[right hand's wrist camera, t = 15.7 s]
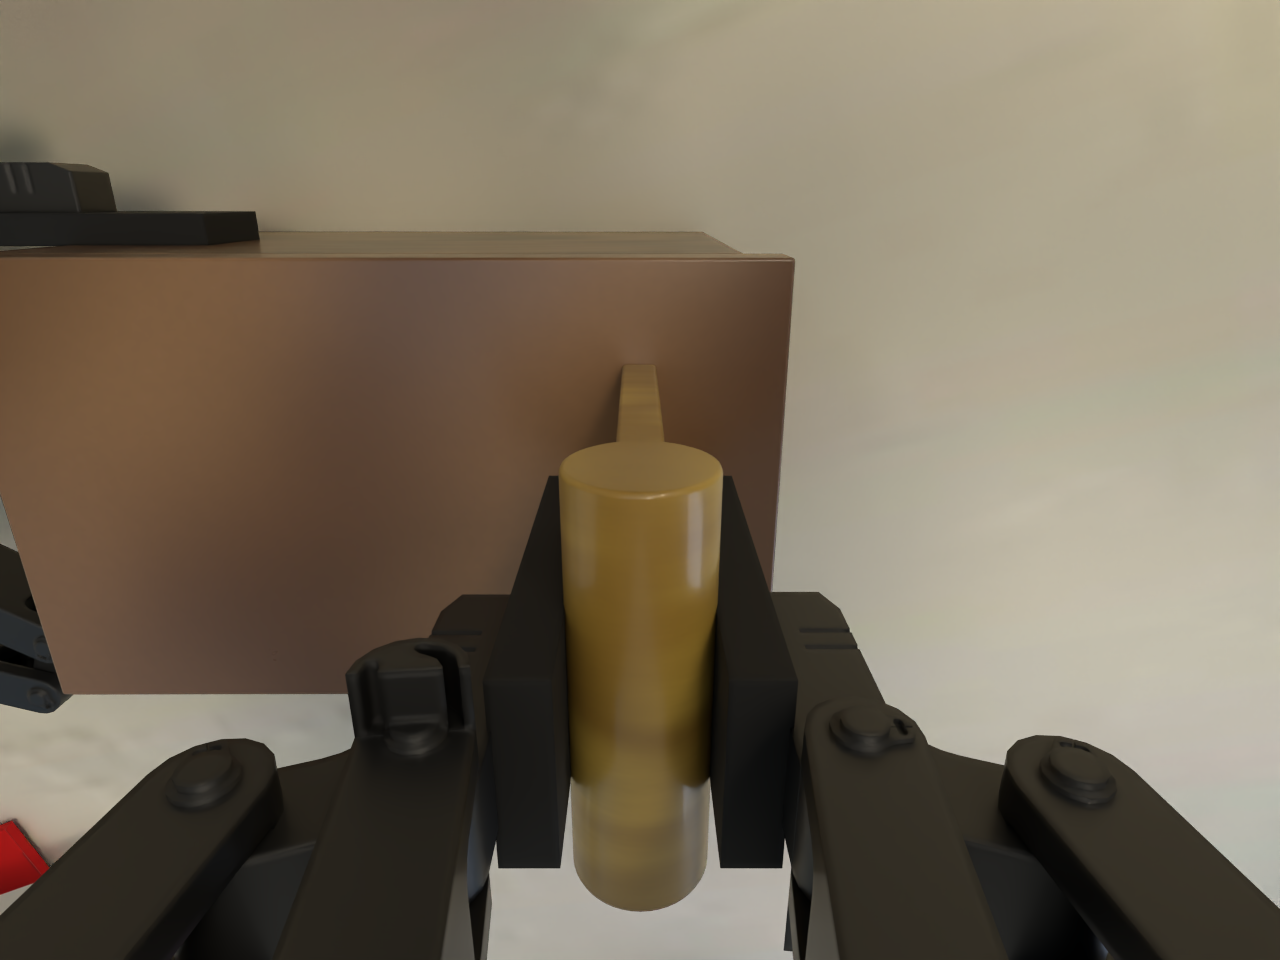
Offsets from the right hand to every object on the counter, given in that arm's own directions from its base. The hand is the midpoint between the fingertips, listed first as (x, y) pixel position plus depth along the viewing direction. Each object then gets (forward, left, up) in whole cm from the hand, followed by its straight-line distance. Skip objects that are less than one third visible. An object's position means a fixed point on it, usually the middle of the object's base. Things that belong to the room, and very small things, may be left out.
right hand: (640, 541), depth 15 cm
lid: (+3, -5, -3) cm, 6 cm away
